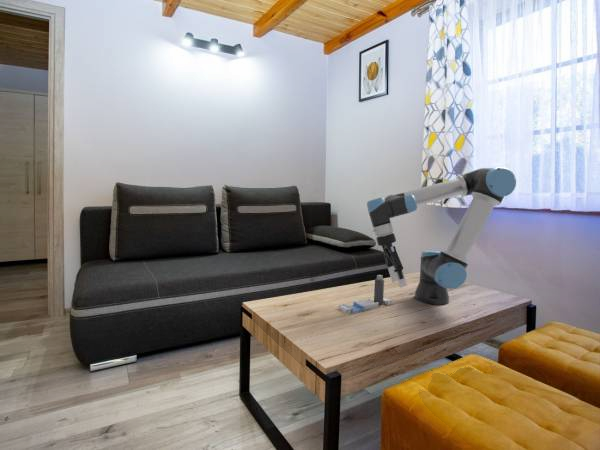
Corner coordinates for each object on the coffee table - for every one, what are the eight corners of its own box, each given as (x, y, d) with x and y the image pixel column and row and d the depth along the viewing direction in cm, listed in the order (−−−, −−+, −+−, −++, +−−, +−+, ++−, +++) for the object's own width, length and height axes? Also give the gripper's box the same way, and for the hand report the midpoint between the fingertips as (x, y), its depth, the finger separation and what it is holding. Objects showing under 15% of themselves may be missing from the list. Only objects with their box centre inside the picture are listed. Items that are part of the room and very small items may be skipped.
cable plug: (378, 301, 158) (380, 274, 156) (384, 304, 155) (386, 276, 153) (371, 303, 156) (373, 275, 154) (377, 306, 153) (379, 277, 151)
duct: (382, 299, 161) (382, 295, 161) (393, 304, 155) (393, 300, 155) (337, 308, 149) (338, 303, 149) (348, 314, 143) (348, 309, 142)
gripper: (370, 236, 158) (384, 281, 157) (382, 238, 133) (397, 291, 132) (387, 231, 157) (400, 276, 157) (401, 232, 132) (416, 286, 132)
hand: (399, 283), depth 145 cm, fingers open, 13 cm apart
